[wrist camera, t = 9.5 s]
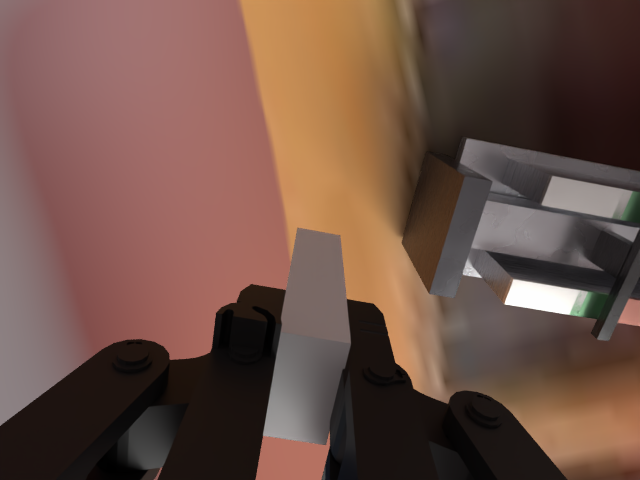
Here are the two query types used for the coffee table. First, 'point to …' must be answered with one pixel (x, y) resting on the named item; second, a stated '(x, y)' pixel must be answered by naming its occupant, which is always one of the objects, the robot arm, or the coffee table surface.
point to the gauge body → (559, 192)
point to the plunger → (511, 234)
